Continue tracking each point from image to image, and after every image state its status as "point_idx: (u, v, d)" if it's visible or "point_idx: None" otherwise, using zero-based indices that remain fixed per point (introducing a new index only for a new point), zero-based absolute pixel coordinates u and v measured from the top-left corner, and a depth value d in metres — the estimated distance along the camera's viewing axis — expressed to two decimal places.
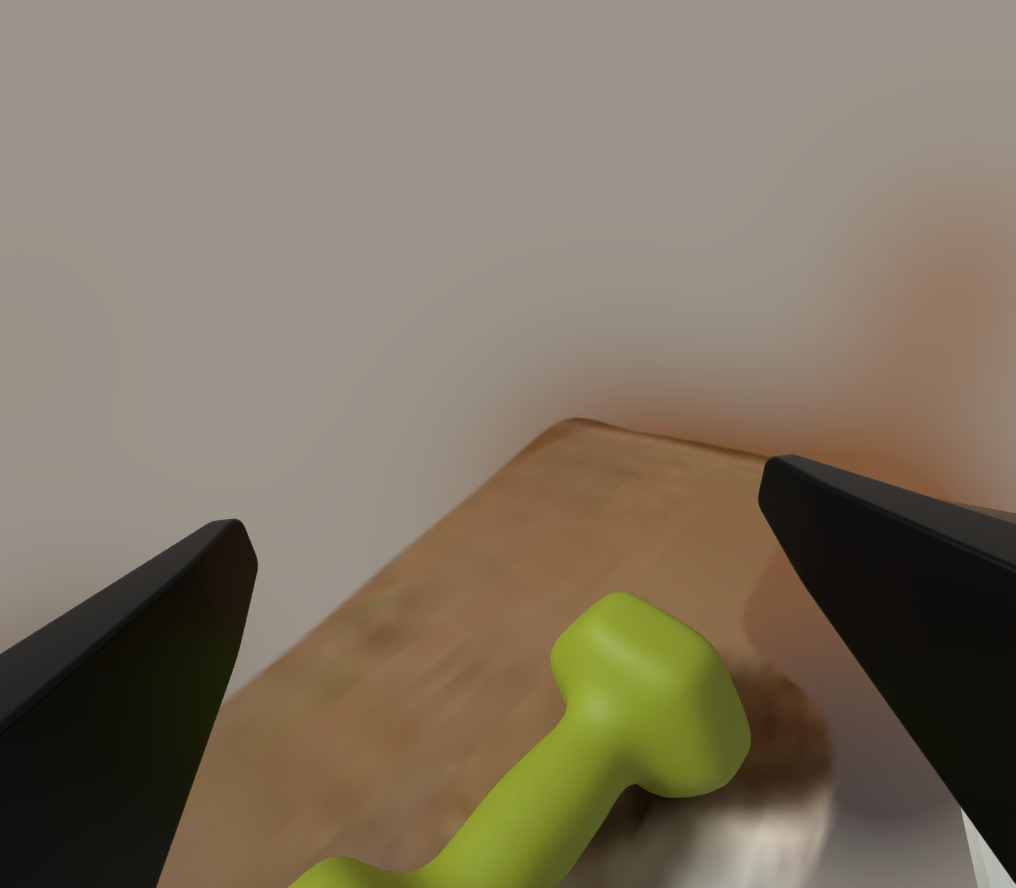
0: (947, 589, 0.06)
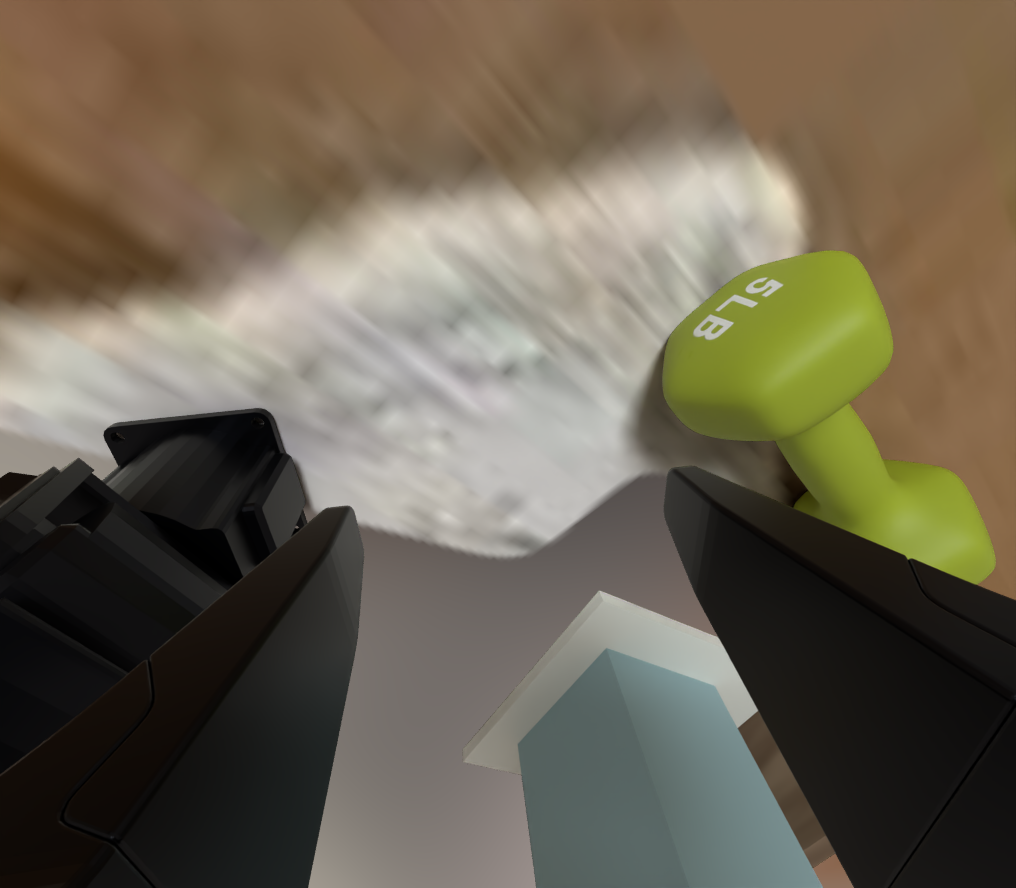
0: (802, 609, 0.06)
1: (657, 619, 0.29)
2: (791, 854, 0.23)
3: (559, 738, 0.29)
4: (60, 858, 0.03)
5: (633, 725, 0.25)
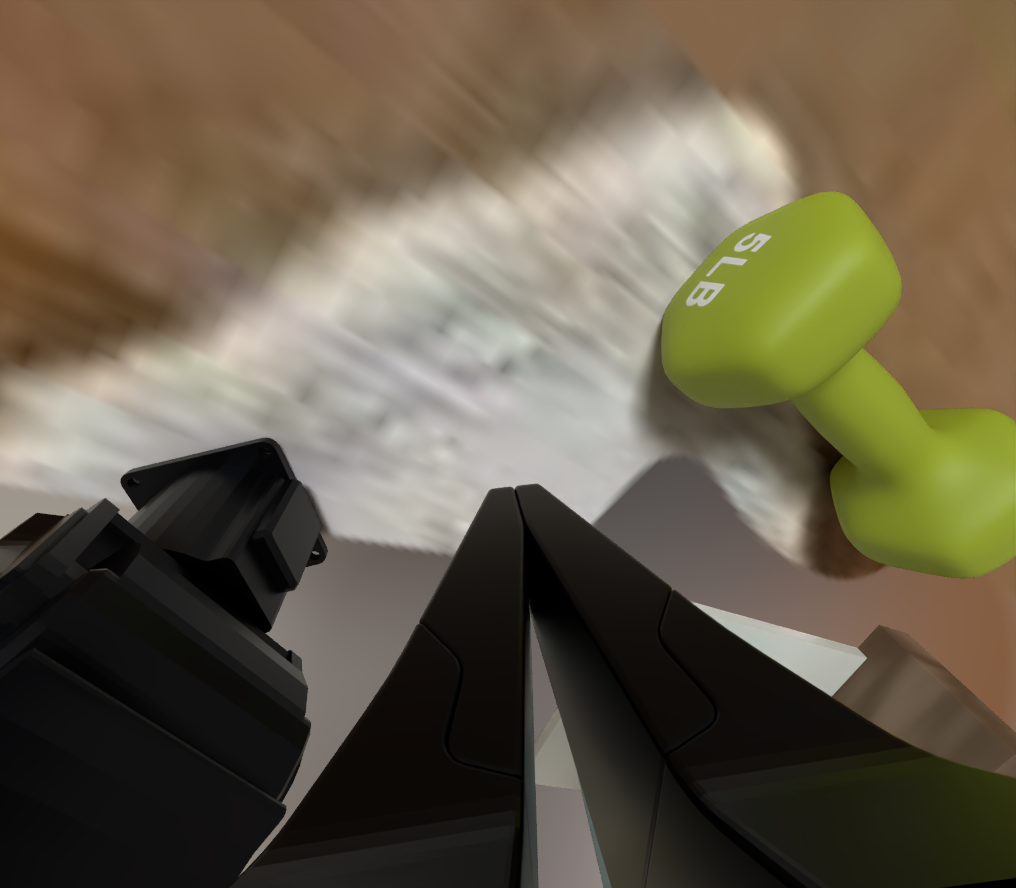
0: (571, 641, 0.05)
1: None
2: None
3: None
4: (483, 791, 0.03)
5: None
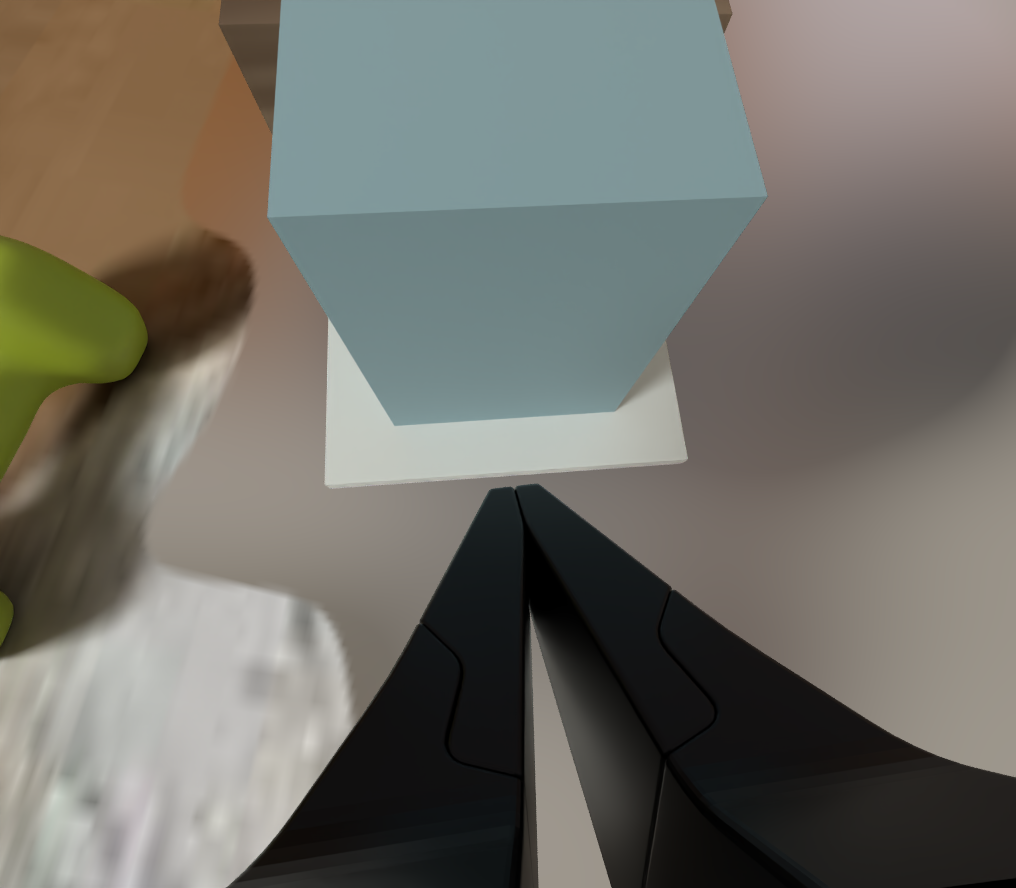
0: (572, 641, 0.05)
1: (328, 397, 0.23)
2: None
3: (525, 401, 0.20)
4: (485, 791, 0.03)
5: (369, 384, 0.18)
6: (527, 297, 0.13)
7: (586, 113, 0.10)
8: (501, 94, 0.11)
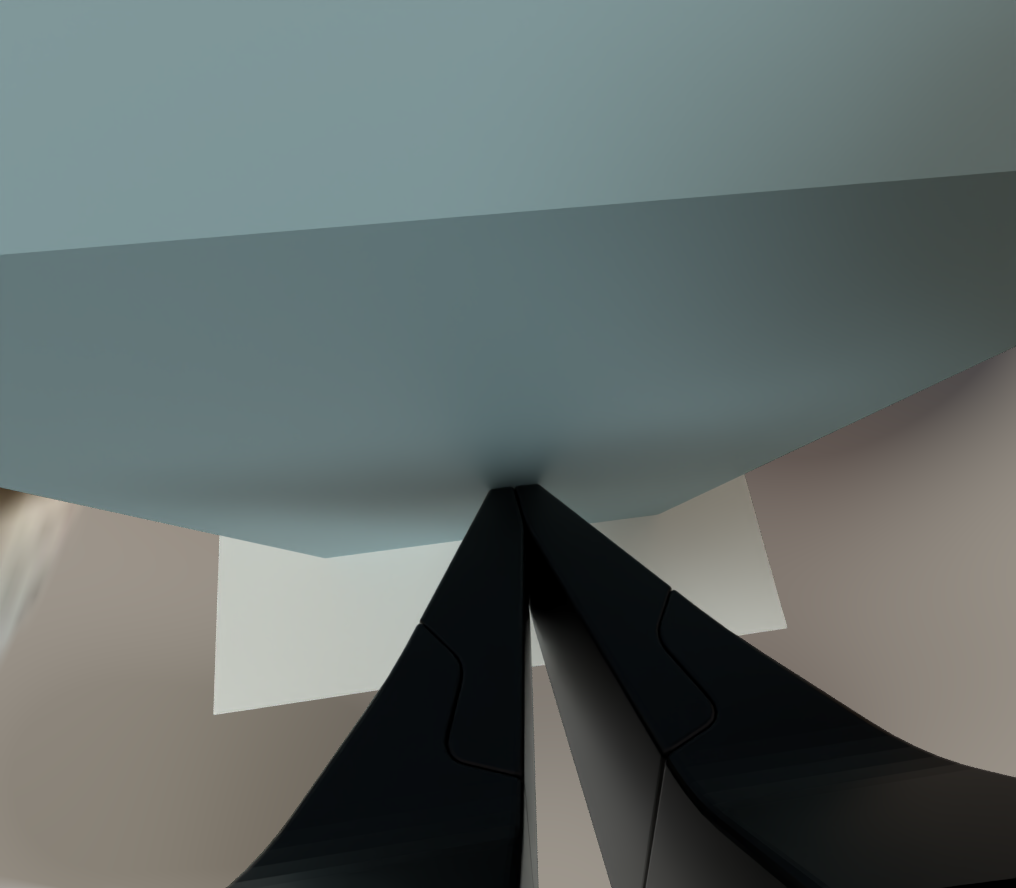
0: (572, 641, 0.05)
1: (223, 557, 0.14)
2: None
3: None
4: (485, 792, 0.03)
5: (250, 541, 0.10)
6: (534, 430, 0.05)
7: None
8: None
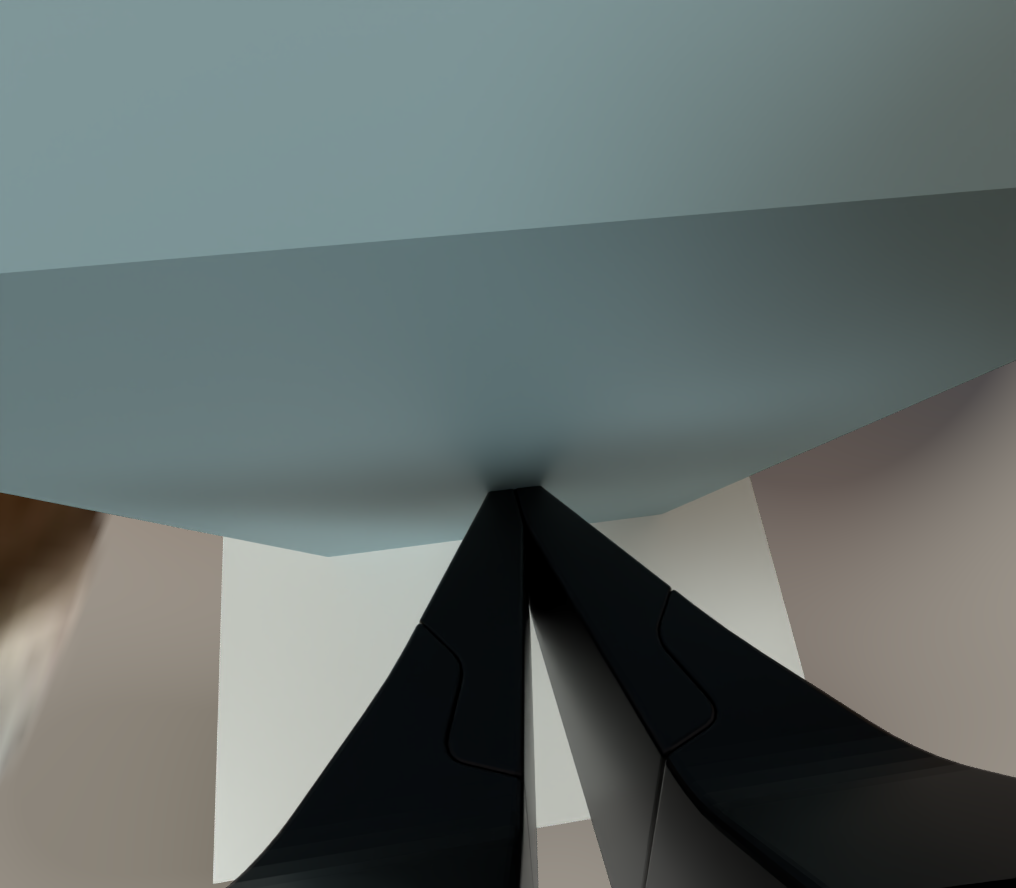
0: (571, 641, 0.05)
1: (223, 695, 0.13)
2: None
3: None
4: (483, 792, 0.03)
5: (254, 542, 0.10)
6: (543, 435, 0.05)
7: None
8: None
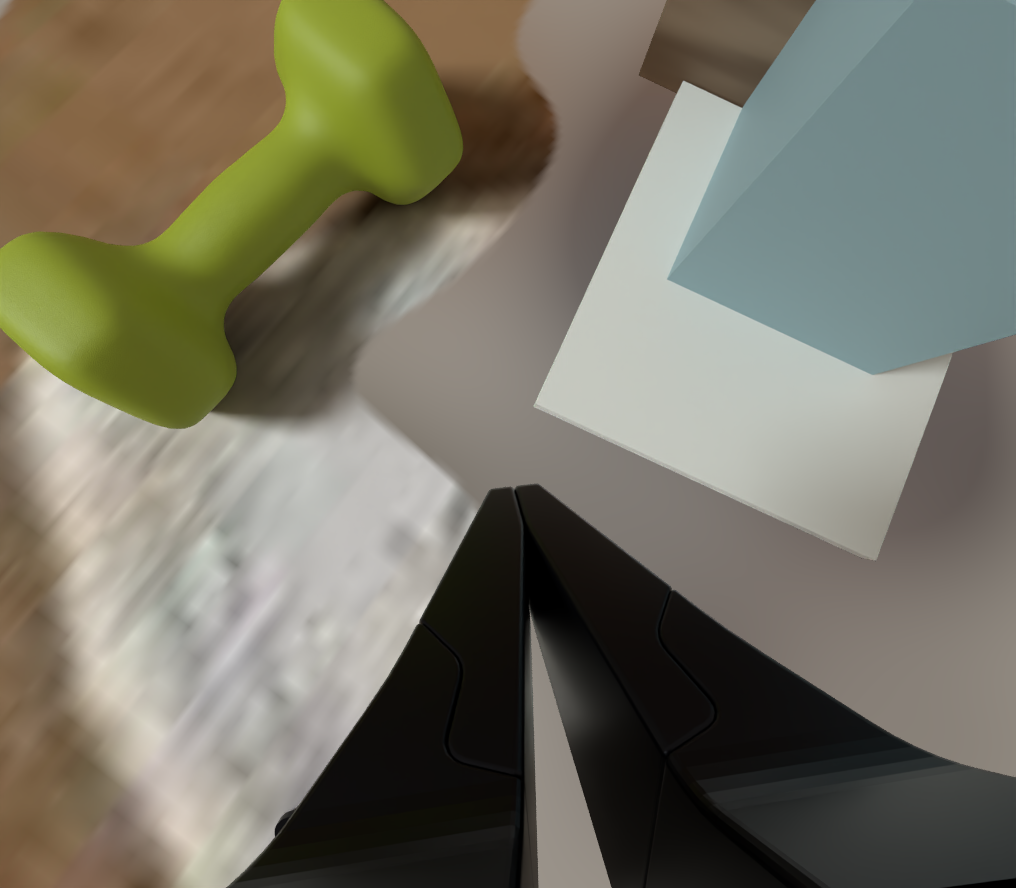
0: (572, 641, 0.05)
1: (573, 319, 0.21)
2: None
3: (817, 318, 0.20)
4: (485, 791, 0.03)
5: (717, 221, 0.17)
6: (1014, 203, 0.12)
7: None
8: None
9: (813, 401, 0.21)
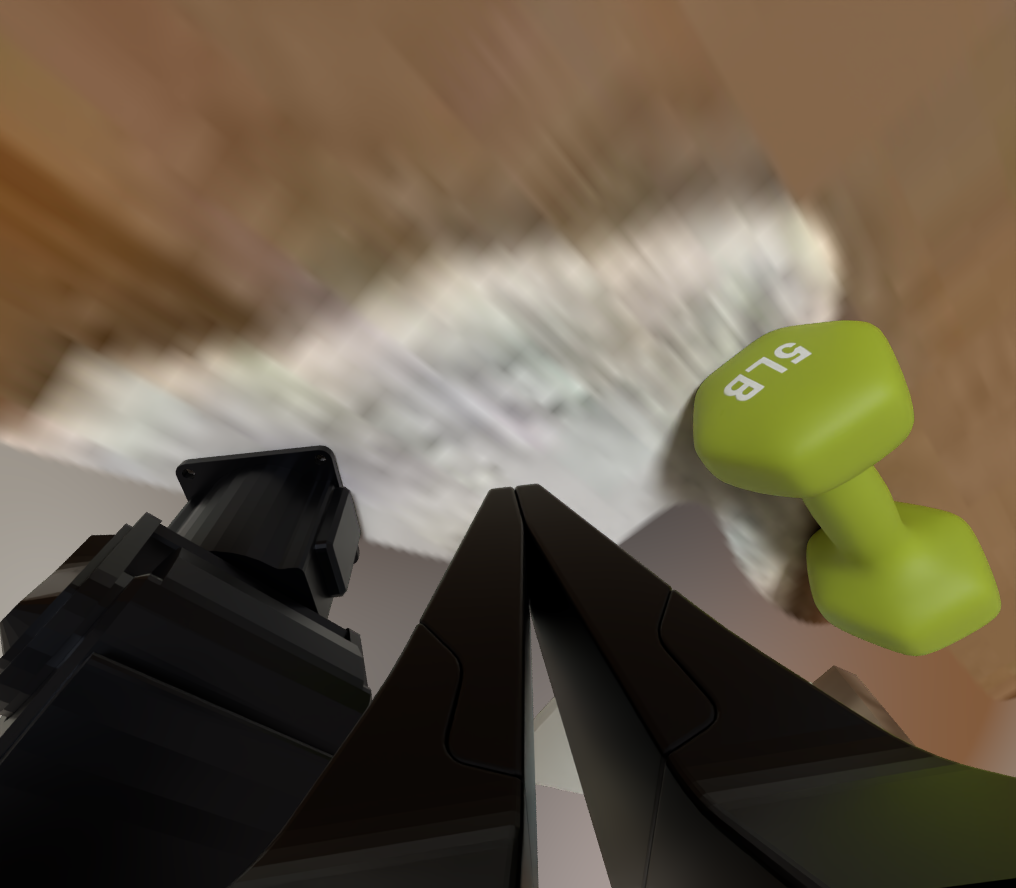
0: (572, 641, 0.05)
1: None
2: None
3: None
4: (485, 792, 0.03)
5: None
6: None
7: None
8: None
9: None
